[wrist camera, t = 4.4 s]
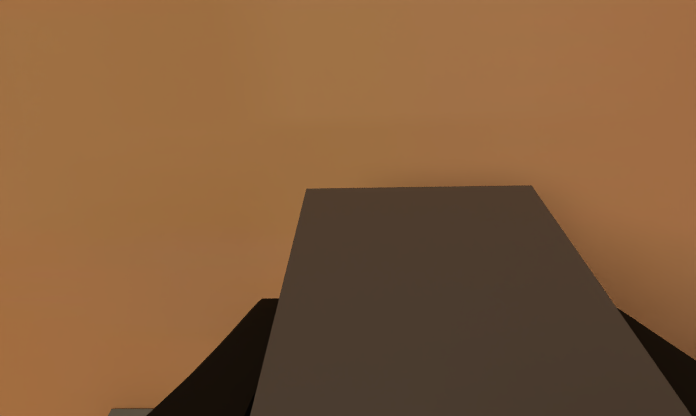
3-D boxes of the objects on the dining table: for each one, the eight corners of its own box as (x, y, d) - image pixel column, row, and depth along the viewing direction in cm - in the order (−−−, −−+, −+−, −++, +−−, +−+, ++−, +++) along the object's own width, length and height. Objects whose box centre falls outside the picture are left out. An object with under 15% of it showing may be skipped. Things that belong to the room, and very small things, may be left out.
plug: (531, 185, 11) (698, 425, 5) (513, 370, 13) (631, 704, 7) (306, 189, 11) (248, 426, 6) (316, 371, 13) (277, 698, 7)
